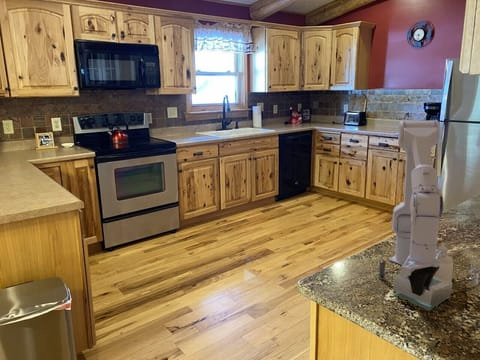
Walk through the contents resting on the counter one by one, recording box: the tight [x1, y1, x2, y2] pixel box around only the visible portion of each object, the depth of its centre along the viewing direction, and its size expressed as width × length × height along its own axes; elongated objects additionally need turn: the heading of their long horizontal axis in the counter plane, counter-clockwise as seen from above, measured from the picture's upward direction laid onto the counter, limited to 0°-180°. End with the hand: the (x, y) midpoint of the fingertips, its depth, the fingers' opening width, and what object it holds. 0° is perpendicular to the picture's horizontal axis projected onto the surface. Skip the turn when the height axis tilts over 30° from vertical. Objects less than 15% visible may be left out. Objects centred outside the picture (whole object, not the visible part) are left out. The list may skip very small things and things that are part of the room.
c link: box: [392, 273, 454, 306], centre depth 97 cm, size 10×10×4 cm
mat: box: [395, 291, 448, 312], centre depth 97 cm, size 10×9×1 cm
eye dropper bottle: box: [434, 242, 454, 283], centre depth 102 cm, size 4×6×12 cm
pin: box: [378, 259, 387, 279], centre depth 107 cm, size 2×2×5 cm
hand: (419, 292), depth 93 cm, fingers open, 2 cm apart
